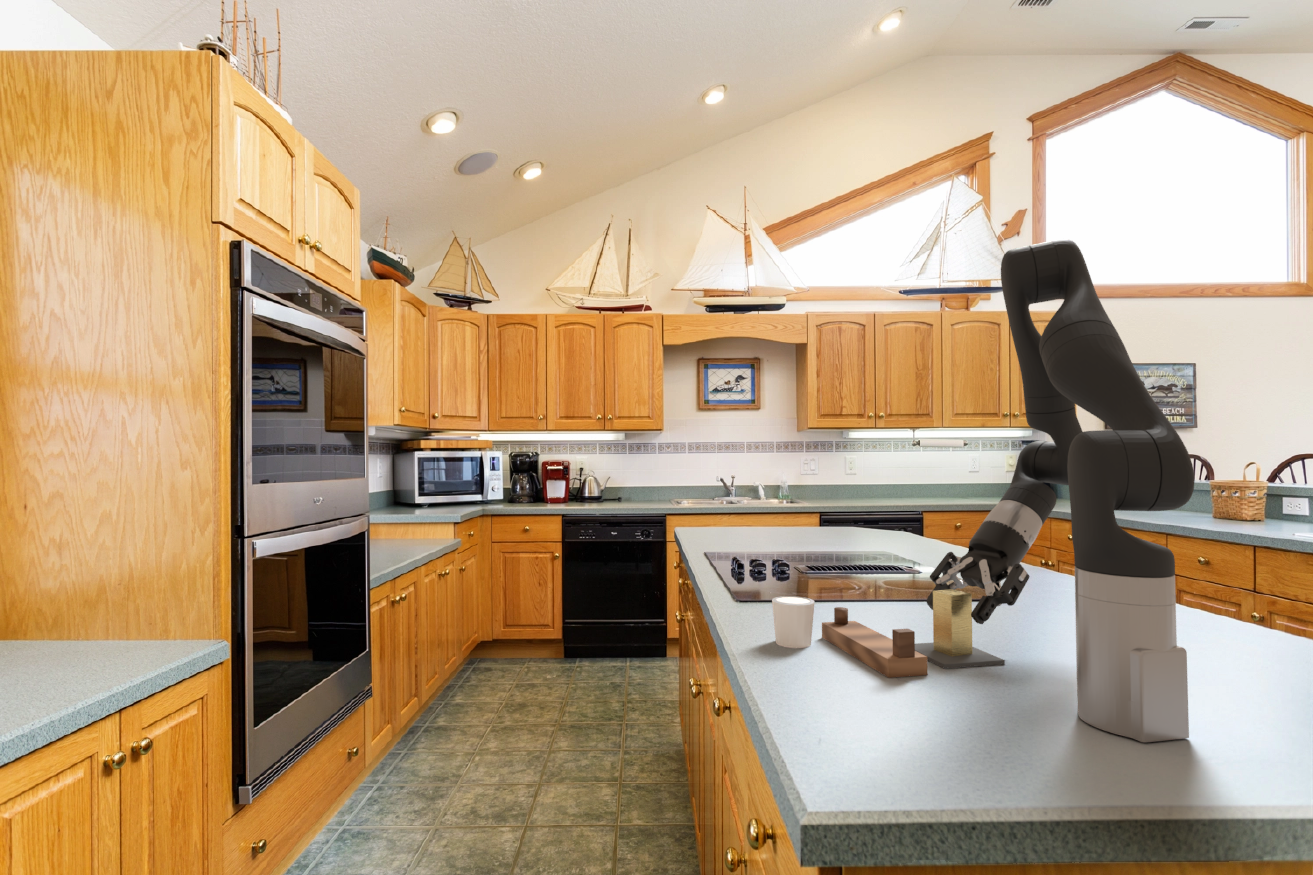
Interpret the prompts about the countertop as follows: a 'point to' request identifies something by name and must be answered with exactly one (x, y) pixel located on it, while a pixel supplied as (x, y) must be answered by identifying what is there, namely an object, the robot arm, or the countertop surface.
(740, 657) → the countertop surface
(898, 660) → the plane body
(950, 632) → the pale wooden block
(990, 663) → the mat
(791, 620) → the white cup
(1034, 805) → the countertop surface
